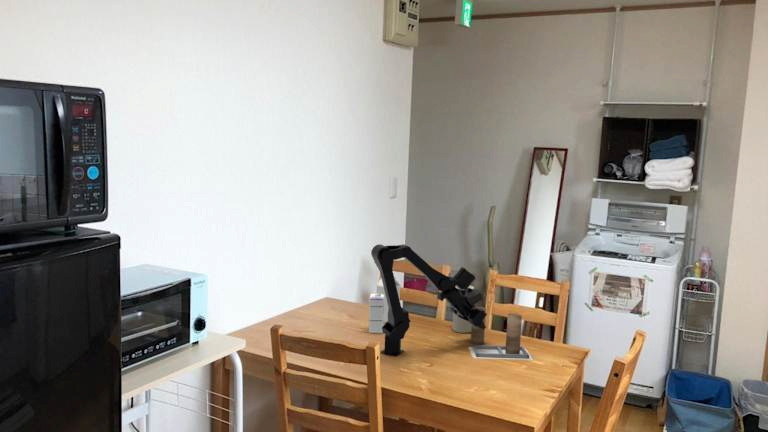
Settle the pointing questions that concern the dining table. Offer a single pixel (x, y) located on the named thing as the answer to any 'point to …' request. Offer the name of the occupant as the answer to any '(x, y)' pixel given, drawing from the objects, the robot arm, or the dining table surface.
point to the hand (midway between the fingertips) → (481, 326)
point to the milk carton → (381, 291)
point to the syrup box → (376, 313)
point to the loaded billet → (513, 333)
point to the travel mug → (459, 323)
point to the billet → (477, 332)
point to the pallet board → (497, 352)
